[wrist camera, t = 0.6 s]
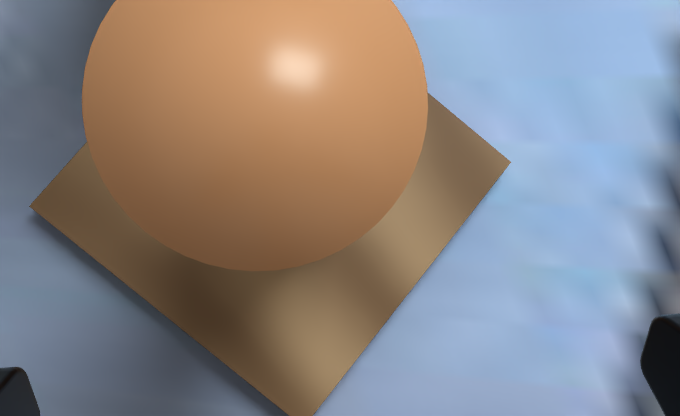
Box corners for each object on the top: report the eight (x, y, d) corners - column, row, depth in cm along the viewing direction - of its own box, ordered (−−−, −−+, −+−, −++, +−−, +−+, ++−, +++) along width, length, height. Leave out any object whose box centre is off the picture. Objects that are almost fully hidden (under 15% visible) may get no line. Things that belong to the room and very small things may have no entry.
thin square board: (303, 420, 22) (304, 448, 19) (38, 207, 22) (-2, 202, 19) (503, 164, 24) (534, 153, 21) (259, -40, 23) (253, -81, 20)
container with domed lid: (289, 287, 20) (282, 343, 9) (165, 187, 19) (5, 118, 9) (387, 167, 20) (493, 80, 9) (268, 68, 20) (238, -134, 9)
